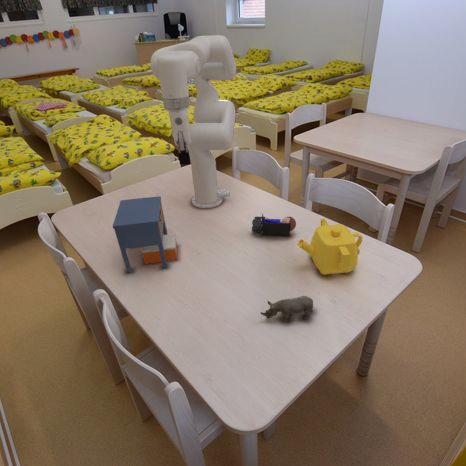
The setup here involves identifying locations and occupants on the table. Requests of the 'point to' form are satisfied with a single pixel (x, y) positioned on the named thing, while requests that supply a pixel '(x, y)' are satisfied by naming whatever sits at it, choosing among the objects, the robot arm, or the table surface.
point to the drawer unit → (139, 226)
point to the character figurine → (273, 226)
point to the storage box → (153, 253)
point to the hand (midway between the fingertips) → (185, 163)
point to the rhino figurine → (290, 307)
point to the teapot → (333, 248)
